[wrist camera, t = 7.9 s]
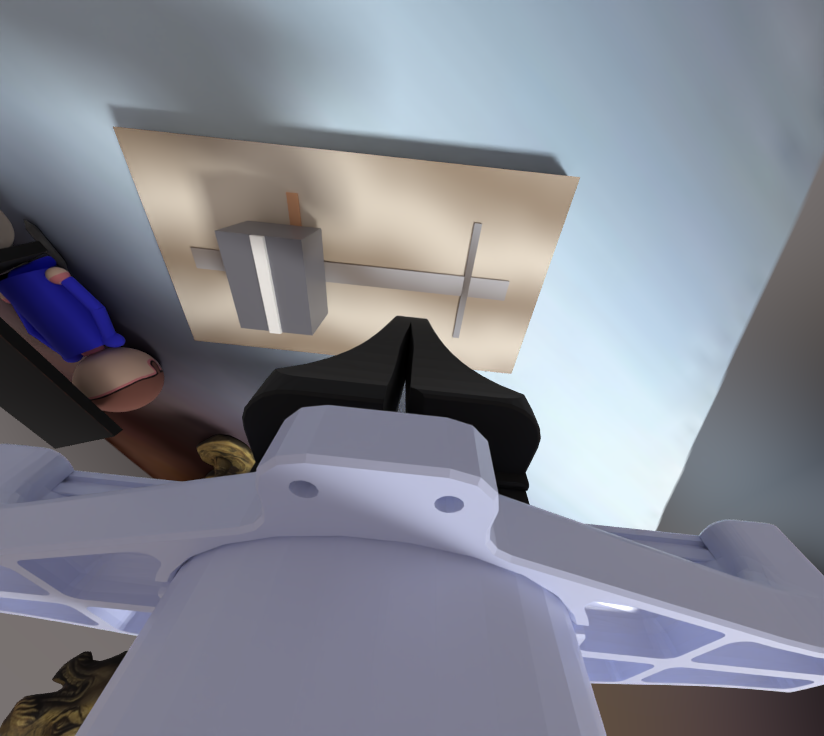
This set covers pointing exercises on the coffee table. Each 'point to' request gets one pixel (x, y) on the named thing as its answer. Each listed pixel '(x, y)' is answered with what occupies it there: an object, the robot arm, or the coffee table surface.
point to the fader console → (357, 238)
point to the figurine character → (64, 350)
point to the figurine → (82, 676)
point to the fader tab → (275, 275)
